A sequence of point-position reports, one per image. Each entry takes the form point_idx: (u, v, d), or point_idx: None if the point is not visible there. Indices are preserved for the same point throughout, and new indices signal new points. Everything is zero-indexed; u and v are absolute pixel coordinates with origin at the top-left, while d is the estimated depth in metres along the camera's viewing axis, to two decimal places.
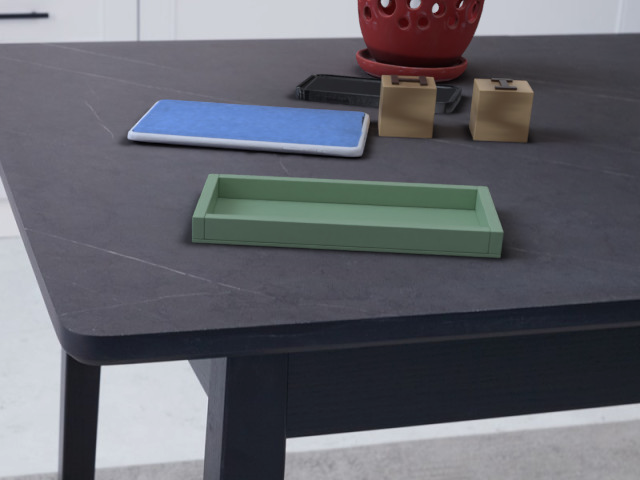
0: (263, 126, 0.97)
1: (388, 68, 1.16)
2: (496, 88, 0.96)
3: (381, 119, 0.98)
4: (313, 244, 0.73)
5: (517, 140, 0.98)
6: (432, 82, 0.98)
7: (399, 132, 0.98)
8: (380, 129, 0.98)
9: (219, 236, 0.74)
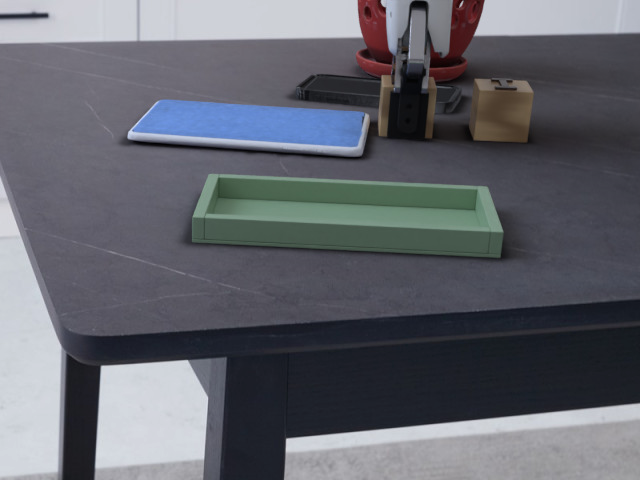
0: (263, 126, 0.97)
1: (388, 68, 1.16)
2: (496, 88, 0.96)
3: (381, 119, 0.98)
4: (313, 244, 0.73)
5: (517, 140, 0.98)
6: (432, 82, 0.98)
7: None
8: (380, 129, 0.98)
9: (219, 236, 0.74)
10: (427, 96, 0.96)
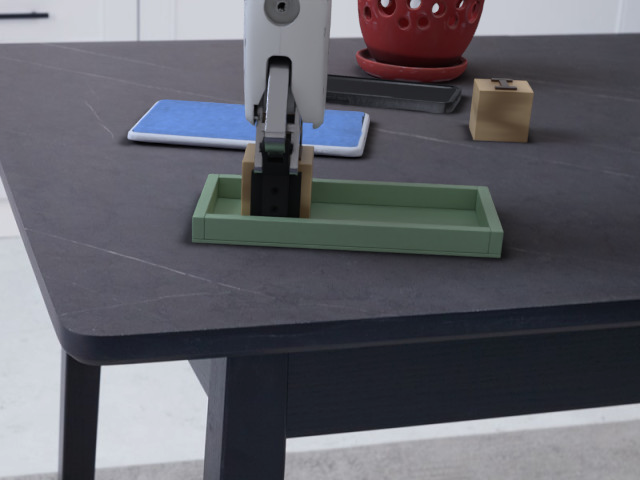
0: None
1: (388, 68, 1.16)
2: (496, 88, 0.96)
3: (242, 203, 0.75)
4: (313, 244, 0.73)
5: (517, 140, 0.98)
6: (309, 154, 0.76)
7: None
8: None
9: (219, 236, 0.74)
10: (299, 177, 0.73)
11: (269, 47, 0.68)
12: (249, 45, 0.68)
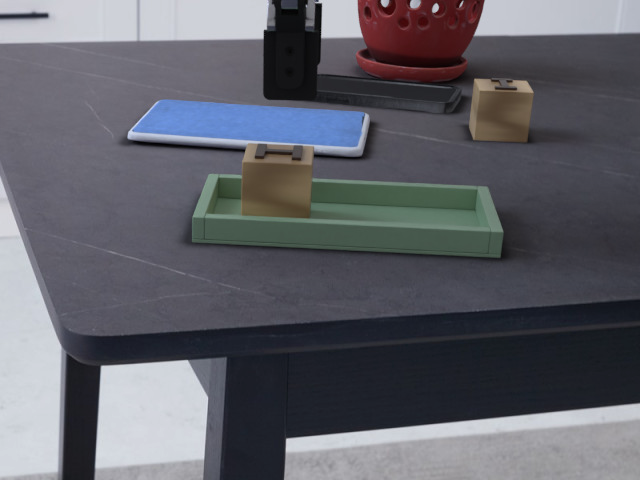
0: (263, 126, 0.97)
1: (388, 68, 1.16)
2: (496, 88, 0.96)
3: (242, 203, 0.75)
4: (313, 244, 0.73)
5: (517, 140, 0.98)
6: (309, 154, 0.76)
7: None
8: None
9: (219, 236, 0.74)
10: (316, 35, 0.67)
11: None
12: None
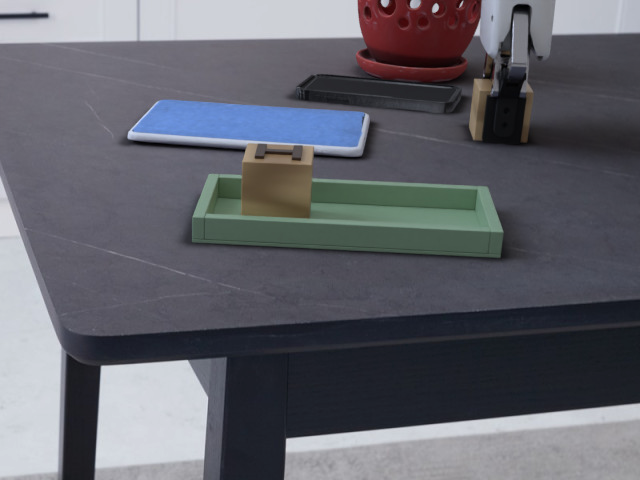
0: (263, 126, 0.97)
1: (388, 68, 1.16)
2: None
3: (242, 203, 0.75)
4: (313, 244, 0.73)
5: None
6: (309, 154, 0.76)
7: None
8: None
9: (219, 236, 0.74)
10: (524, 100, 0.95)
11: None
12: None
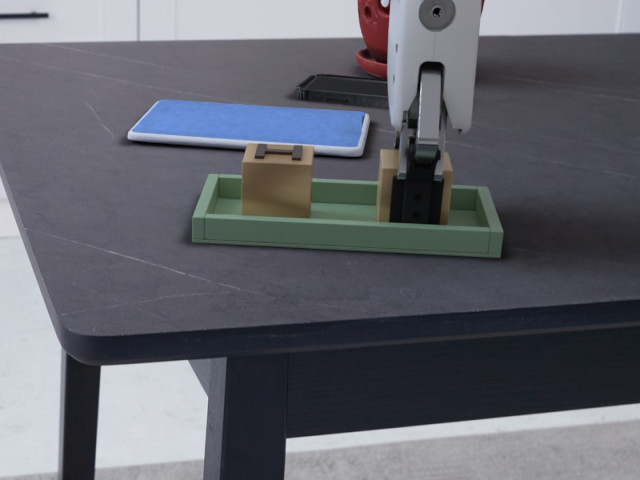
0: (263, 126, 0.97)
1: None
2: None
3: (242, 203, 0.75)
4: (313, 244, 0.73)
5: None
6: (309, 154, 0.76)
7: None
8: None
9: (219, 236, 0.74)
10: (441, 183, 0.73)
11: (422, 53, 0.67)
12: (401, 51, 0.68)
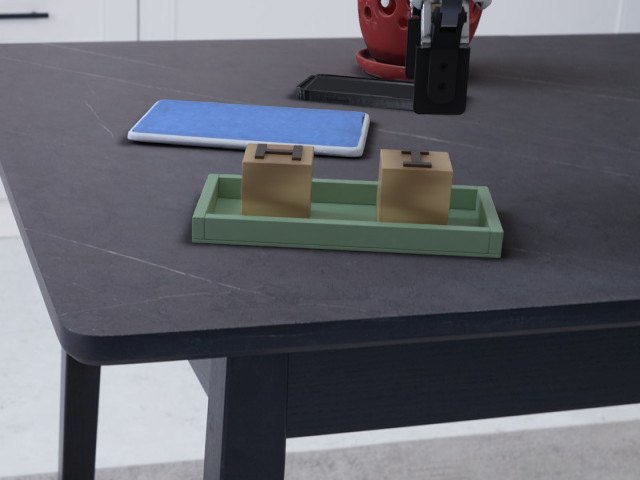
0: (263, 126, 0.97)
1: (388, 68, 1.16)
2: (404, 165, 0.73)
3: (242, 203, 0.75)
4: (313, 244, 0.73)
5: None
6: (309, 154, 0.76)
7: None
8: None
9: (219, 236, 0.74)
10: (468, 51, 0.69)
11: None
12: None
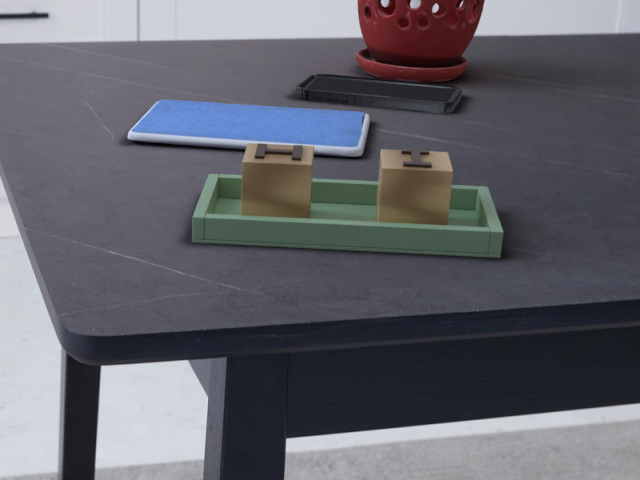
0: (263, 126, 0.97)
1: (388, 68, 1.16)
2: (404, 165, 0.73)
3: (242, 203, 0.75)
4: (313, 244, 0.73)
5: None
6: (309, 154, 0.76)
7: None
8: None
9: (219, 236, 0.74)
10: None
11: None
12: None
